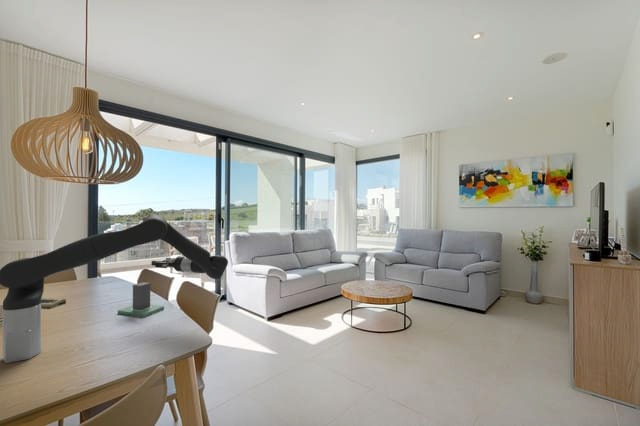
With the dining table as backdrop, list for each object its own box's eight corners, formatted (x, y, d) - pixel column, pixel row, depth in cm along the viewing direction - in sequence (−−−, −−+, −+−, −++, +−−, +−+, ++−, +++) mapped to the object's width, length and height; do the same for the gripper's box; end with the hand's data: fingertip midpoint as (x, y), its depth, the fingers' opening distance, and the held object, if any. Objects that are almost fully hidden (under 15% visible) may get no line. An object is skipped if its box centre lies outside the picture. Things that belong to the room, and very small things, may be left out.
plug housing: (150, 306, 147) (150, 283, 146) (140, 310, 141) (140, 285, 141) (142, 305, 148) (142, 282, 148) (132, 309, 143) (132, 284, 142)
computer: (22, 308, 148) (22, 301, 148) (38, 302, 156) (38, 296, 156) (51, 309, 147) (51, 302, 147) (66, 303, 155) (66, 297, 155)
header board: (164, 309, 148) (164, 298, 148) (143, 317, 137) (143, 305, 136) (139, 305, 153) (139, 295, 152) (117, 313, 141) (117, 302, 141)
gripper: (197, 254, 144) (170, 251, 148) (176, 258, 130) (147, 255, 134) (197, 269, 144) (170, 266, 148) (175, 275, 130) (146, 271, 134)
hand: (159, 261), depth 141 cm, fingers open, 8 cm apart
